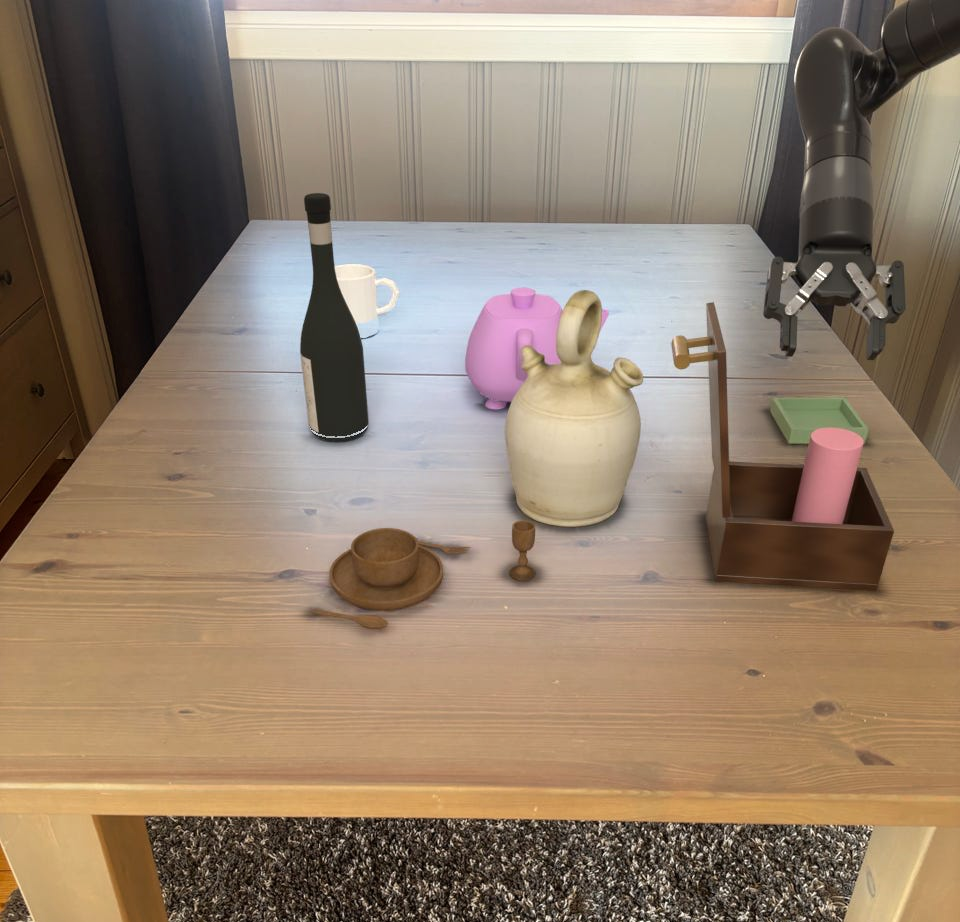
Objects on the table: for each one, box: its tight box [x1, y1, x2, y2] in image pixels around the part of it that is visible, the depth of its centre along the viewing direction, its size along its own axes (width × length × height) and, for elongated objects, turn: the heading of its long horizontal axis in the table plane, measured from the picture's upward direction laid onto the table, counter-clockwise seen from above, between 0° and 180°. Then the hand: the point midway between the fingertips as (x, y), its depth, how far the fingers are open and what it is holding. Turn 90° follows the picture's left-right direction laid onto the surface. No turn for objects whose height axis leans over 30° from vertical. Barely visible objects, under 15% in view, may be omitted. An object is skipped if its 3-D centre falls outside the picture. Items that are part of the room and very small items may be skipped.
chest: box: [705, 460, 895, 591], centre depth 105 cm, size 17×14×7 cm
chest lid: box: [670, 301, 731, 518], centre depth 99 cm, size 17×14×5 cm
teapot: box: [464, 287, 610, 410], centre depth 136 cm, size 20×20×15 cm
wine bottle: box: [299, 192, 369, 443], centre depth 123 cm, size 8×8×30 cm
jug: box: [504, 289, 644, 528], centre depth 109 cm, size 15×16×25 cm
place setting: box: [310, 519, 537, 629], centre depth 100 cm, size 18×20×6 cm
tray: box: [769, 396, 870, 445], centre depth 132 cm, size 10×10×2 cm
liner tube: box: [792, 428, 865, 524], centre depth 103 cm, size 5×5×13 cm
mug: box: [335, 263, 401, 324], centre depth 159 cm, size 8×12×10 cm
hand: (831, 355), depth 104 cm, fingers open, 8 cm apart
